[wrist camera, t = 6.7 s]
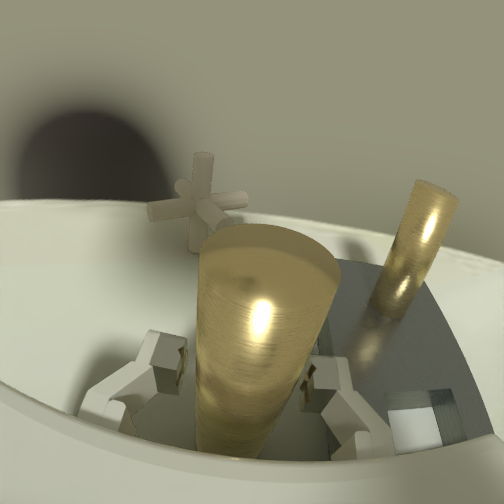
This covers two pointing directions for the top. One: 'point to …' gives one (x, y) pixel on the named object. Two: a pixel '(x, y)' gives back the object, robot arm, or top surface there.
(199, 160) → the pipe connector
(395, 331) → the bolt plate
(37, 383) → the top surface
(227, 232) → the brass pin
